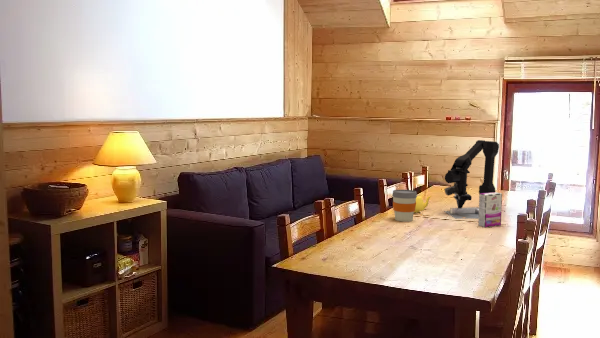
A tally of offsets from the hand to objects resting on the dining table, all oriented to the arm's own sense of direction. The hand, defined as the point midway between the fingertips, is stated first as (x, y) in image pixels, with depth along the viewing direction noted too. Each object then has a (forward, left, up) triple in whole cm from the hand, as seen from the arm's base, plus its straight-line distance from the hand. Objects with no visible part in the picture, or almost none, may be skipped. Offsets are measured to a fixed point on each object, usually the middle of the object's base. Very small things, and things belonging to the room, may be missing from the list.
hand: (459, 210), depth 312 cm
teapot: (+21, -13, -3) cm, 25 cm away
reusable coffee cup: (+33, +10, -3) cm, 35 cm away
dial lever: (-4, +2, -1) cm, 4 cm away
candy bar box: (-7, +24, -3) cm, 26 cm away
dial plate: (-3, +4, -3) cm, 6 cm away
